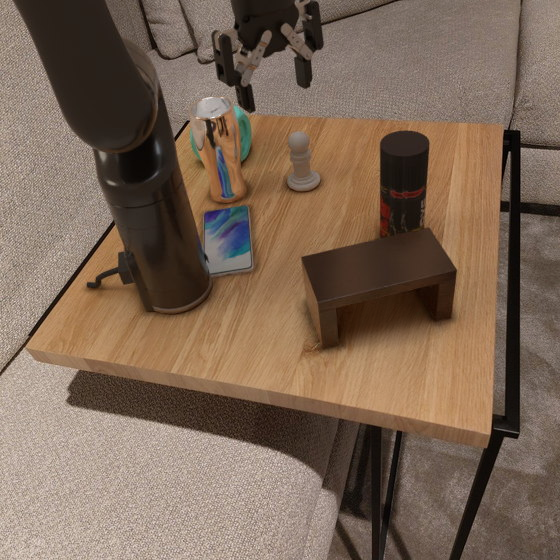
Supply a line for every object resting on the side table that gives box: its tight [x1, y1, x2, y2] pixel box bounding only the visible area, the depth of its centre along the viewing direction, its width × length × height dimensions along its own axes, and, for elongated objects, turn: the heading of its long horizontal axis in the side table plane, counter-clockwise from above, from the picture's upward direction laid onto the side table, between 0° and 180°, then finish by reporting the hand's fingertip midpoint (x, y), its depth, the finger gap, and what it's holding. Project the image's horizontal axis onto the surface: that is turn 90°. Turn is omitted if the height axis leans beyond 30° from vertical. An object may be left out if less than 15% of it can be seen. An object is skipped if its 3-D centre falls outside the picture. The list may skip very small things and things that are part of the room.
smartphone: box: [202, 204, 255, 279], centre depth 86 cm, size 7×1×15 cm
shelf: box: [300, 226, 458, 350], centre depth 70 cm, size 16×8×8 cm, turn 102°
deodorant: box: [379, 130, 431, 239], centre depth 77 cm, size 6×6×15 cm
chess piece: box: [286, 130, 321, 192], centre depth 91 cm, size 5×5×9 cm
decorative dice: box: [189, 104, 252, 163], centre depth 100 cm, size 8×8×8 cm
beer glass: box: [188, 95, 248, 204], centre depth 90 cm, size 7×7×15 cm
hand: (276, 98), depth 75 cm, fingers open, 8 cm apart
